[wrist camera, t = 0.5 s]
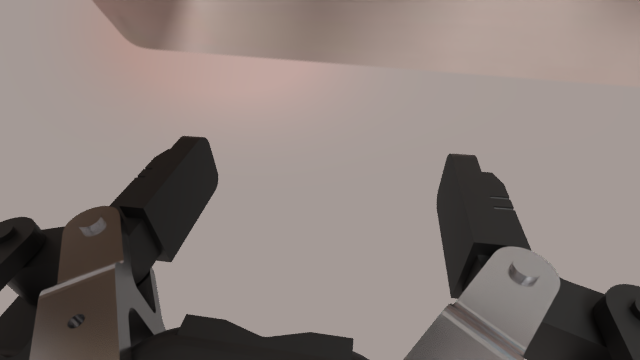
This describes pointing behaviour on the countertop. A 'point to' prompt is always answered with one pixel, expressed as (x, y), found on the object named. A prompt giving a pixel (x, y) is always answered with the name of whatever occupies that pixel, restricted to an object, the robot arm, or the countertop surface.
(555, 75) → the countertop surface
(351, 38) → the countertop surface
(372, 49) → the countertop surface
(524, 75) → the countertop surface
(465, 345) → the robot arm
